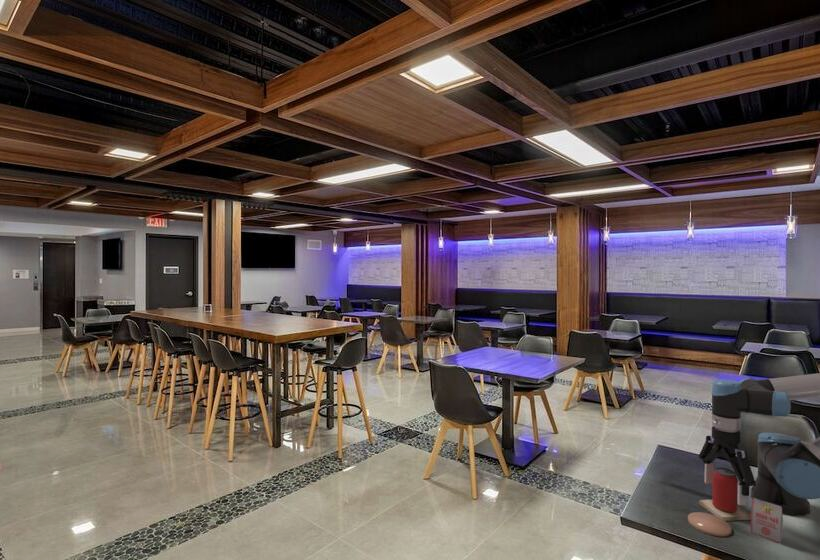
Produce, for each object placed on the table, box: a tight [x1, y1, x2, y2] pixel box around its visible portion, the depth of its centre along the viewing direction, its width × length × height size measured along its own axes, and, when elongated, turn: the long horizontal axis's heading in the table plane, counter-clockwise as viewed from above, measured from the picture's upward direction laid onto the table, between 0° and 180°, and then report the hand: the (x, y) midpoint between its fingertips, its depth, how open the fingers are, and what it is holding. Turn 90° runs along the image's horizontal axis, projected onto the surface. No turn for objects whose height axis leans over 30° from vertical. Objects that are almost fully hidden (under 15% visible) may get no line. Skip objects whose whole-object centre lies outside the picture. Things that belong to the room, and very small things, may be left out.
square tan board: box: [698, 499, 751, 522], centre depth 140 cm, size 10×10×1 cm
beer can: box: [711, 466, 739, 512], centre depth 140 cm, size 7×7×12 cm
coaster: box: [687, 511, 733, 537], centre depth 132 cm, size 11×11×1 cm
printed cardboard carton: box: [750, 498, 784, 544], centre depth 127 cm, size 4×7×10 cm, turn 40°
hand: (725, 493), depth 140 cm, fingers open, 13 cm apart
